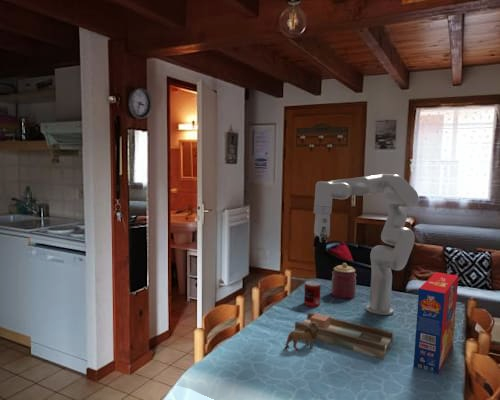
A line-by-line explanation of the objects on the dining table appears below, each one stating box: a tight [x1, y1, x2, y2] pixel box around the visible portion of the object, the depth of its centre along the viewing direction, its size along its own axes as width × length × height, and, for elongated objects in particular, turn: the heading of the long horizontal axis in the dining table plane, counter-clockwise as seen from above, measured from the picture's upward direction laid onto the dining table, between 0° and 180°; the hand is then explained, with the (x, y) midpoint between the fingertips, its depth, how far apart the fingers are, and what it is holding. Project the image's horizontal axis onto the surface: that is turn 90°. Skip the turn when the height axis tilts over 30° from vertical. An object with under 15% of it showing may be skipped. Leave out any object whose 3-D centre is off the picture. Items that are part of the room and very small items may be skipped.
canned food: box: [303, 280, 322, 308], centre depth 194 cm, size 8×8×11 cm
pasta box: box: [413, 271, 459, 375], centre depth 143 cm, size 28×8×28 cm, turn 144°
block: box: [311, 312, 331, 329], centre depth 160 cm, size 6×6×4 cm
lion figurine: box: [284, 322, 319, 351], centre depth 147 cm, size 15×5×9 cm, turn 116°
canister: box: [330, 262, 358, 300], centre depth 210 cm, size 13×13×18 cm
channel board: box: [294, 311, 393, 360], centre depth 155 cm, size 14×35×5 cm, turn 58°
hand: (319, 249), depth 170 cm, fingers open, 9 cm apart
